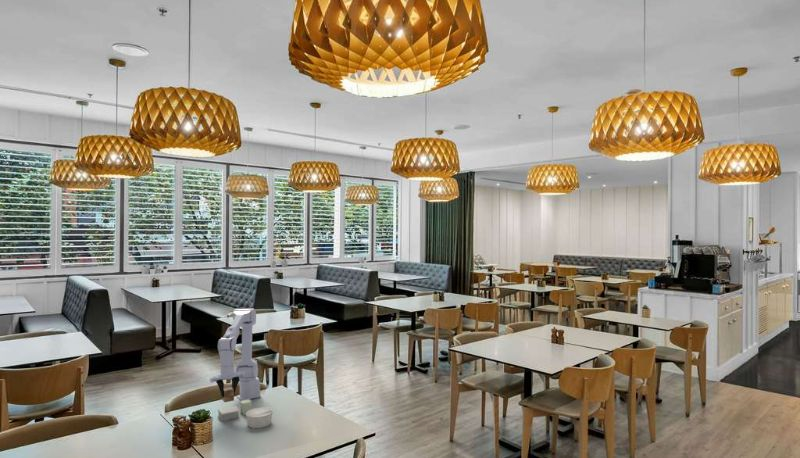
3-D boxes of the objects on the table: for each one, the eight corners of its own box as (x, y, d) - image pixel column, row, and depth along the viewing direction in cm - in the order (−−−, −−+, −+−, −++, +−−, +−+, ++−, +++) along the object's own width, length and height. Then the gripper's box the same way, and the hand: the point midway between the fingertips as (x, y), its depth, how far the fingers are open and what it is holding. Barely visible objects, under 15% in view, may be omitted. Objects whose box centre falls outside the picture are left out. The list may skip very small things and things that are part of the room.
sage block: (249, 410, 226) (249, 399, 226) (251, 412, 222) (251, 401, 222) (240, 412, 224) (240, 401, 223) (242, 414, 220) (242, 403, 220)
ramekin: (265, 430, 202) (265, 417, 202) (240, 428, 205) (240, 416, 205) (277, 419, 213) (277, 407, 213) (253, 418, 216) (253, 406, 216)
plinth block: (234, 412, 223) (234, 406, 223) (238, 417, 217) (238, 410, 217) (218, 416, 219) (218, 409, 219) (222, 421, 213) (222, 414, 213)
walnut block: (231, 397, 220) (231, 386, 220) (234, 400, 217) (233, 389, 217) (222, 399, 218) (222, 388, 218) (224, 402, 215) (224, 391, 215)
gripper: (212, 369, 210) (212, 401, 210) (246, 364, 218) (247, 394, 218) (208, 366, 216) (209, 397, 216) (242, 360, 224) (242, 390, 224)
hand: (228, 395), depth 218 cm, fingers closed on walnut block, 4 cm apart
